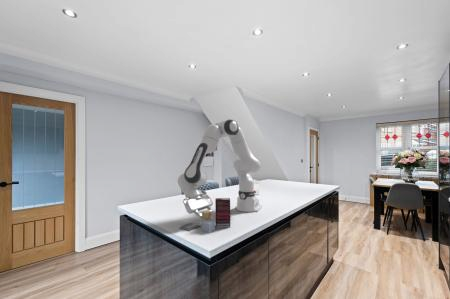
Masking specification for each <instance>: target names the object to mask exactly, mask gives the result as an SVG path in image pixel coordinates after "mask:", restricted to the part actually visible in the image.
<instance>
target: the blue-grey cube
mask: <svg viewBox="0 0 450 299" xmlns="http://www.w3.org/2000/svg"><path fill="white" fill-rule="evenodd" d="M215 231H216V220H206V221H203V222H202V221H201V232H203V233H208V234H210V233H212V232H215Z"/></svg>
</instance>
